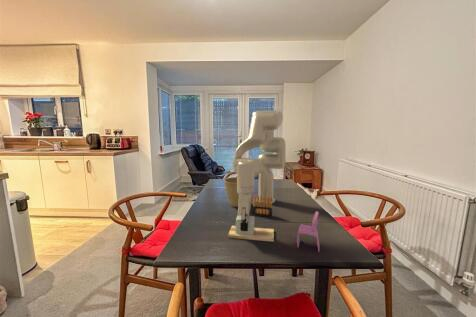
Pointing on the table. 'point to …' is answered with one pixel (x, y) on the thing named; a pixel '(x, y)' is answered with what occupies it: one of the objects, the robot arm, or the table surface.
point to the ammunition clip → (262, 206)
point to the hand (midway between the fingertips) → (245, 226)
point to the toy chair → (309, 229)
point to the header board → (259, 234)
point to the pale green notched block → (250, 225)
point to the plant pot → (232, 191)
